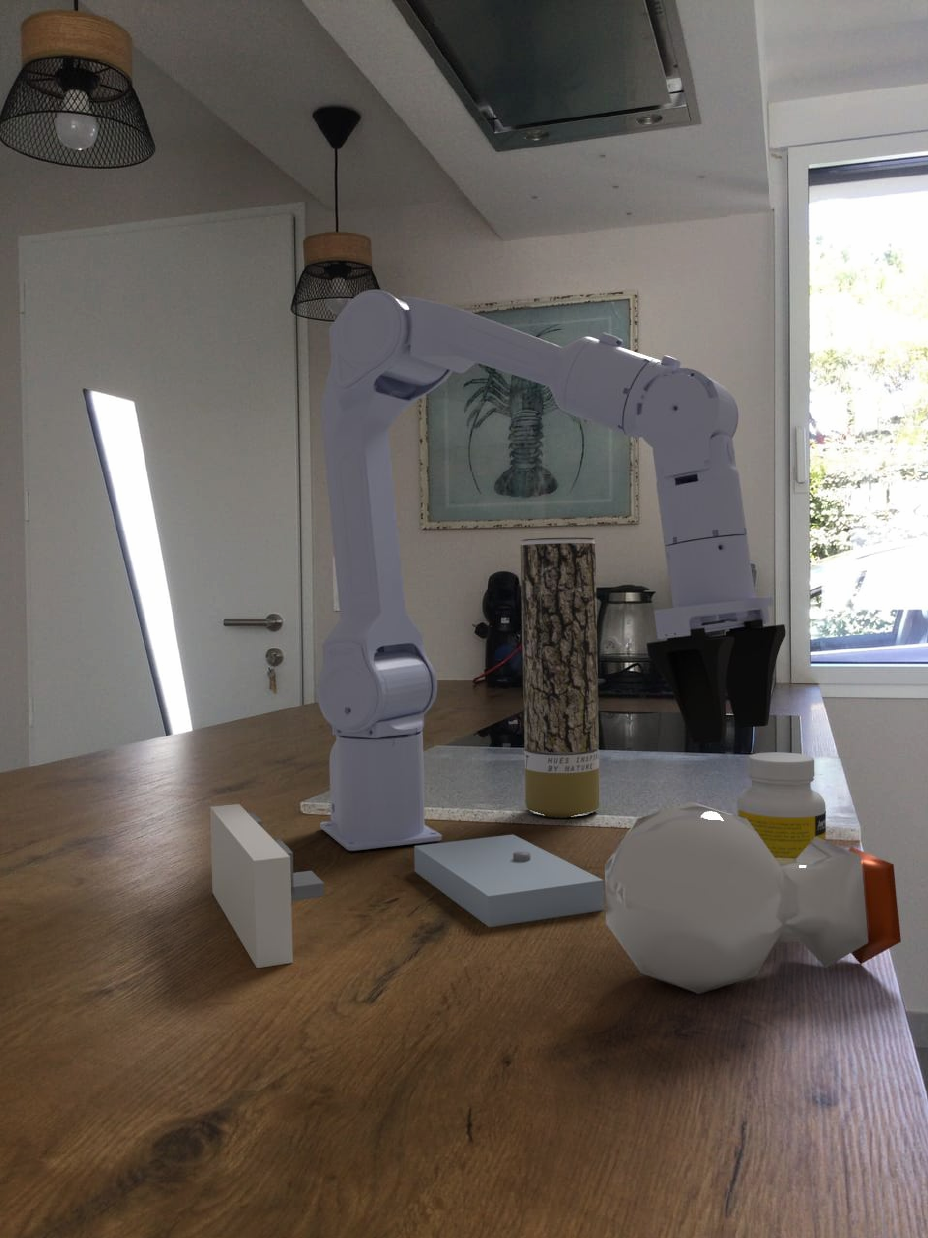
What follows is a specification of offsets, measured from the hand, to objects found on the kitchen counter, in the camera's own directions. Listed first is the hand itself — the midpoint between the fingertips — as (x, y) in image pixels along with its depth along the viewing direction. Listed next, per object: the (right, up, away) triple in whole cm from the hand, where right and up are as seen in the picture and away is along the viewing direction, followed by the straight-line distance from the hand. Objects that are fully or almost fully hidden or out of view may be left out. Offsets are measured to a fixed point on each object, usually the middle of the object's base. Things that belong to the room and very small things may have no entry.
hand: (731, 734), depth 74 cm
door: (-16, -11, -1) cm, 20 cm away
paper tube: (-10, -10, +23) cm, 27 cm away
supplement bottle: (+1, -11, -7) cm, 13 cm away
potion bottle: (-4, -11, -18) cm, 21 cm away
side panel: (-31, -11, -7) cm, 34 cm away
